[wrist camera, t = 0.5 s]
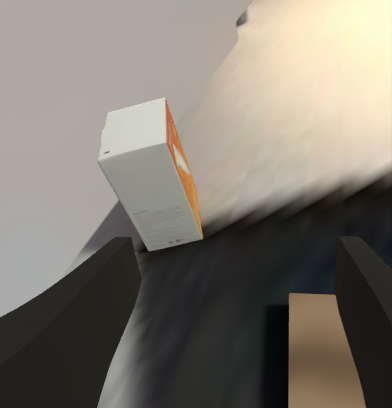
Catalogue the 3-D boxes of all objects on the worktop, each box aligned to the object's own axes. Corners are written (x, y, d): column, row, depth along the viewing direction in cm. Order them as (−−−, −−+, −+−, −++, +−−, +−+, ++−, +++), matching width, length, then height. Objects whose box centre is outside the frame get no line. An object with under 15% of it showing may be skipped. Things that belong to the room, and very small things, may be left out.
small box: (204, 240, 37) (167, 142, 28) (148, 253, 38) (94, 161, 29) (198, 189, 43) (165, 94, 34) (149, 201, 44) (104, 112, 35)
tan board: (526, 527, 18) (543, 526, 17) (290, 480, 22) (287, 476, 21) (456, 313, 26) (463, 300, 25) (290, 304, 30) (289, 293, 28)
